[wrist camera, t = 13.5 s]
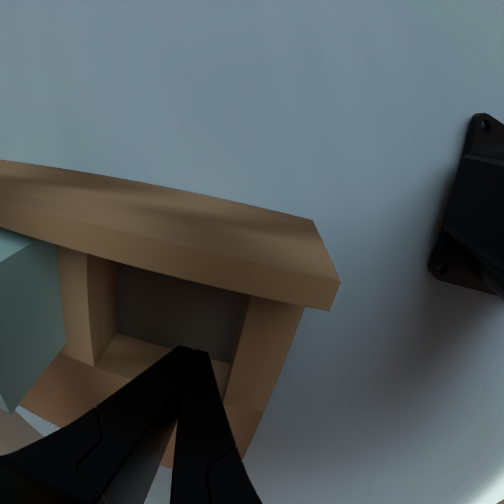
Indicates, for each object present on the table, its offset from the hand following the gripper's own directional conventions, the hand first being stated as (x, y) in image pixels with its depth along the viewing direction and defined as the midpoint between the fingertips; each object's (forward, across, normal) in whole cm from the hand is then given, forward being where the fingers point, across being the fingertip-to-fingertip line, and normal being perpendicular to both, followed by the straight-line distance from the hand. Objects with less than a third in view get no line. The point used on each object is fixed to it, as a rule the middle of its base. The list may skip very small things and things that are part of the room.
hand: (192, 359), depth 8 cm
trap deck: (+4, +6, +3) cm, 8 cm away
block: (+1, +7, 0) cm, 7 cm away
